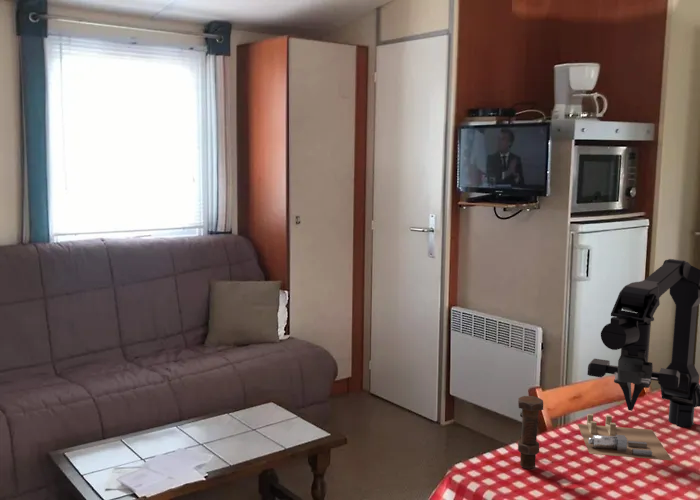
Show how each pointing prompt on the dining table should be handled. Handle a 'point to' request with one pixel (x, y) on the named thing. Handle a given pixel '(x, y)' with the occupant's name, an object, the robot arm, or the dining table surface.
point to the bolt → (529, 430)
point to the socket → (638, 451)
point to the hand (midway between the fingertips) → (630, 410)
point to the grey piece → (609, 442)
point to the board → (630, 435)
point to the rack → (609, 425)
